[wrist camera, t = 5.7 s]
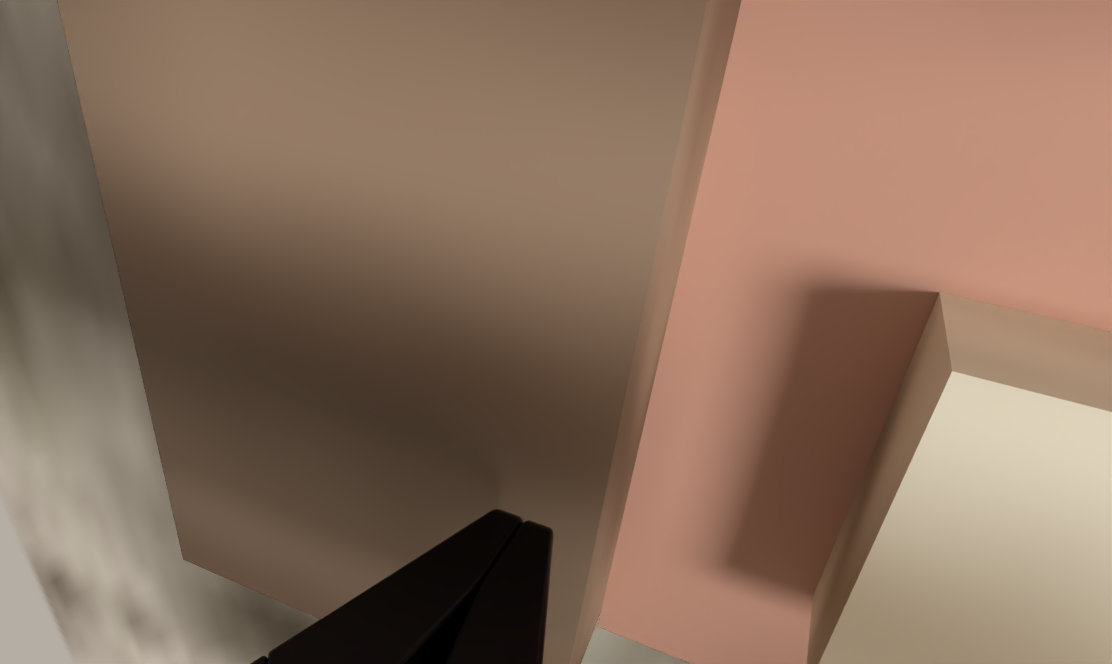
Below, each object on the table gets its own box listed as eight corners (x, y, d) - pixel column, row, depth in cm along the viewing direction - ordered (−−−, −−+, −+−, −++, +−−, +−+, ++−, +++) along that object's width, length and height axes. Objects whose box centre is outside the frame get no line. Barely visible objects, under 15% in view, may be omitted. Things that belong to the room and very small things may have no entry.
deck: (608, 592, 15) (557, 722, 13) (281, 466, 17) (183, 559, 15) (760, -61, 9) (716, -47, 6) (212, -146, 11) (21, -160, 8)
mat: (1076, 791, 13) (1082, 818, 13) (604, 607, 16) (597, 626, 15) (1802, 34, 7) (1863, 42, 6) (771, -109, 9) (766, -110, 8)
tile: (802, 697, 11) (812, 596, 13) (1183, 841, 10) (1141, 709, 12) (951, 371, 8) (938, 291, 10) (1539, 521, 7) (1411, 401, 8)
